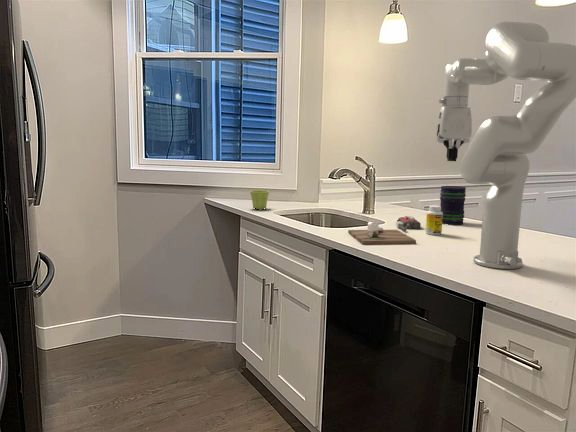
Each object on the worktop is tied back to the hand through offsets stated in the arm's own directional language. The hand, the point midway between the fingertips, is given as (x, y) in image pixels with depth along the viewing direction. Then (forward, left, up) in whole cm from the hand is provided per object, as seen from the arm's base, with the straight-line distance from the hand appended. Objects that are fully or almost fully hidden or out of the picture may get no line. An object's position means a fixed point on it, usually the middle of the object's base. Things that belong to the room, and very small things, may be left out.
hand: (451, 160), depth 159 cm
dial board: (+8, +20, -27) cm, 35 cm away
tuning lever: (+9, +22, -26) cm, 35 cm away
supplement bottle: (+15, -2, -27) cm, 31 cm away
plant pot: (+80, +57, -27) cm, 102 cm away
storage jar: (+37, -19, -27) cm, 50 cm away
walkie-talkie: (+28, +3, -28) cm, 39 cm away
